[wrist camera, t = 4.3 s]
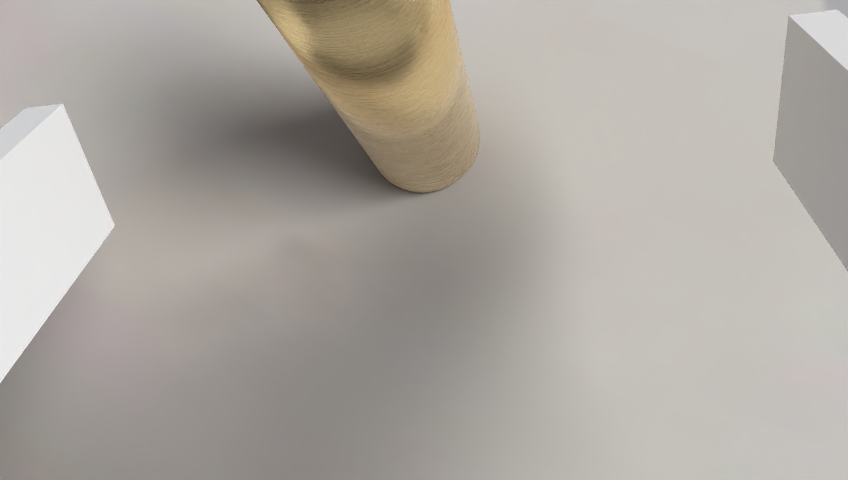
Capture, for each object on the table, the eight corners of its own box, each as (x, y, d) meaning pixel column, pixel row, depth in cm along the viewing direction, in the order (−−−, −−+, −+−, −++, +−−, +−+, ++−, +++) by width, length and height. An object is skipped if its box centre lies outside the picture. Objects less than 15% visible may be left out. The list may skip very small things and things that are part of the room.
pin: (365, 190, 22) (207, 4, 12) (374, 85, 23) (231, -182, 12) (476, 194, 22) (415, 2, 11) (482, 86, 23) (429, -191, 12)
